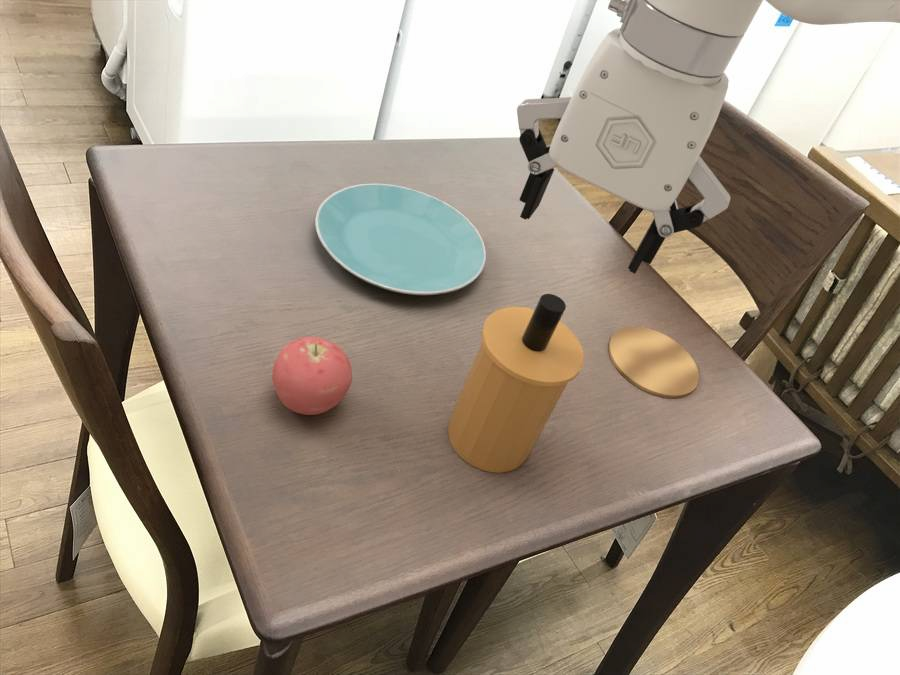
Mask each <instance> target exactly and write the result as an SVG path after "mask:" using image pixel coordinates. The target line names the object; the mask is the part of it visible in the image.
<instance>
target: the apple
mask: <svg viewBox="0 0 900 675" xmlns="http://www.w3.org/2000/svg"><path fill="white" fill-rule="evenodd" d="M271 374H272V376H271V378H272V384H273V387H274V389H275V392H276V395H277V396H278V398H279V400H280V402H281V403H282V404H283V405H284V407H286V408H287V409H289V410H290V411H293V412H294V413H297V414H300V415H307V416H315V415H320V414H323V413H326V412H328V411H329V410H332V408H334V407H335V406H337V405H338V404H339V403H340V402H341V401H342V400H343V398H345V396H346V395H347V394H348V391H349V390H350V387H351V385H352V382H353V368H352V365H351V362H350V360H349V357H348V355H347V354H346V353H345V351H344V349H342V348H341V347H340V346H338V345H337V344H336V343H334V342H333V341H331V340H329V339H325V338H322V337H319V336H302V337H298V338H296V339H293V340H292V341H290V342H288V343H287V344H285V346H283V348H282V349H281V350H280V351H279V352H278V354H277V356H276V358H275V360H274V363H273V366H272V373H271Z"/></svg>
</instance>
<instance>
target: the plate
mask: <svg viewBox="0 0 900 675" xmlns="http://www.w3.org/2000/svg"><path fill="white" fill-rule="evenodd" d="M314 226H315V227H314V228H315V231H316V234H317V237H318V240H319V241H320V243H321V245H322V247H323V248H324V250H325V251H326V252H327V253H328V255H329V256H330V257H331V258H332V259H333V260H334V261H335V262H336V263H337V264H339V266H341V267H342V268H343V269H344V270H346V271H347V272H349V273H350V274H352V275H353V276H355V277H356V278H358V279H360V280H362V281H364V282H366V283H368V284H370V285H373V286H375V287H378V288H381V289H384V290H387V291H391V292H395V293H400V294H405V295H413V296H434V295H435V296H436V295H443V294H448V293H452V292H455V291H459V290H461V289H463V288H465V287H467V286H469V285H470V284H472V283H474V281H475V280H476V279H477V278H478V277H480V275H481V274H482V272H483V270H484V268H485V265H486V262H487V250H486V246H485V243H484V240H483V238H482V236H481V234H480V232H479V231H478V229H477V228H476V226H475V225H474V224H473V223H472V221H470V220H469V218H467V216H466V215H464V214H463V213H462V212H460V211H459V210H458V209H456V208H455V207H454V206H452V205H450V204H448V203H447V202H445V201H443V200H441V199H440V198H437V197H435V196H433V195H430V194H428V193H425V192H422V191H421V190H415V189H413V188H410V187H405V186H401V185H396V184H389V183H373V182H372V183H361V184H354V185H350V186H347V187H344V188H341V189H339V190H337V191H335V192H332V193H331V194H330V195H328V196H327V197H326V198H325V199H324V200H323V201H322V202H321V204H320V205H319V206H318V208H317V211H316V212H315V217H314Z"/></svg>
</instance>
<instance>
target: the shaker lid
mask: <svg viewBox="0 0 900 675" xmlns="http://www.w3.org/2000/svg"><path fill="white" fill-rule="evenodd" d="M566 308H567V306H566V303H565V301H564V300H563V299H562V298H561V297H559V296H558V295H555V294H554V293H553V294H552V293H544V294H542V295H541V296H540V297H539V300H538V302H537V304H536V306H535V308H534V309H533V308H531V307H524V306H507V307H503V308H499V309H498V310H495V311H493V312H492V313H491V314H490V315H489V316H488V317H487V318H486V319H485V321H484V324H483V326H482V329H481V343H483V346H484V348H485V350H486V352H487V354H488V355H489V357H490V358H491V359H492V361H493V362H494V363H495V364H496V365H497V366H498V367H500V368H501V369H502V370H503V371H505V372H506V373H508V374H509V375H511V376H513V377H515V378H517V379H519V380H521V381H523V382H526V383H530V384H534V385H538V386H559V385H563V384H566V383H570V382H572V381H573V380H574V379H575V378H577V377H578V375H579V374H580V372H581V370H582V369H583V366H584V362H585V360H584V359H585V355H584V354H585V353H584V350H583V346H582V344H581V342H580V341H579V339H578V337H577V336H576V335H575V333H574V332H573V331H572V330H571V329H570V328H569V327H568V326H567V325H565V323H563V322H562V321H561V319H562V317H563V315H564V312H565V311H566Z"/></svg>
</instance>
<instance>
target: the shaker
mask: <svg viewBox="0 0 900 675" xmlns="http://www.w3.org/2000/svg"><path fill="white" fill-rule="evenodd" d="M568 383H569V382H568ZM568 383H566V384H563V385H559V386H538V385H534V384H530V383H526V382H523V381H521V380H519V379H517V378H515V377H513V376H511V375H509V374H508V373H506V372H505V371H503V370H502V369H501V368H500V367H498V366H497V365H496V364H495V363H494V362H493V361H492V359H491V358H490V357H489V355H488V354H487V352H486V350H485V348H484V346H483V343H482V342H481V343H480V346H479V348H478V351H477V353H476V354H475V358H474V360H473V363H472V365H471V367H470V370H469V372H468V374H467V377H466V379H465V382H464V383H463V387H462V389H461V391H460V394H459V396H458V399H457V401H456V403H455V406H454V408H453V411H452V413H451V416H450V418H449V421H448V425H447V436H448V440H449V443H450V445H451V446H452V448H453V450H454V451H455V453H456V454H457V455H458V456H459V457H460V458H461V459H462V460H463V461H465V462H466V463H468V464H469V465H470V466H472V467H474V468H476V469H479V470H481V471H485V472H487V473H496V474H497V473H498V474H499V473H508V472H511V471H513V470H516V469H517V468H519V467H520V466H522V465H523V464H524V463H525V461H526V460H527V458H528V457H529V456H530V453H531V452H532V450H533V448H534V446H535V444H536V442H537V440H538V438H539V437H540V435H541V433H542V431H543V429H544V428H545V426H546V424H547V423H548V420H549V419H550V416H551V414H552V413H553V411H554V409H555V407H556V405H557V404H558V402H559V400H560V398H561V397H562V395H563V393H564V391H565V390H566V387H567V385H568Z"/></svg>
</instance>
